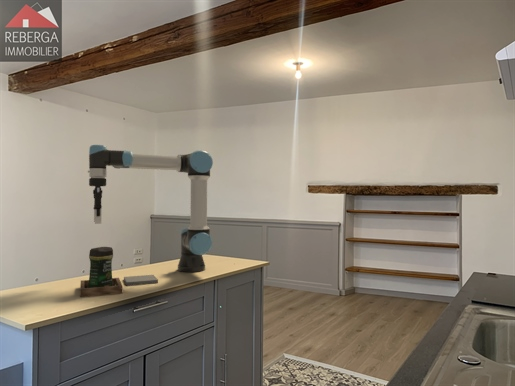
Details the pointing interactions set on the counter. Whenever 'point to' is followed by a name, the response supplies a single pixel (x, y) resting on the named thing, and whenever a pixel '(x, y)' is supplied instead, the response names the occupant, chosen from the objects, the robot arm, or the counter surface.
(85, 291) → the walnut frame
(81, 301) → the counter surface
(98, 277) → the coffee jar
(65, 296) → the counter surface
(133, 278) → the grey board
